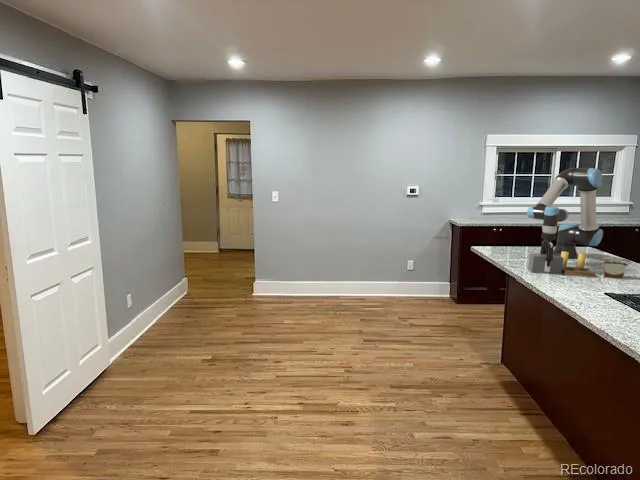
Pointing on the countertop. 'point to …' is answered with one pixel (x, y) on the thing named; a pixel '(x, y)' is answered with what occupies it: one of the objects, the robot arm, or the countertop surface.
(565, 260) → the peg
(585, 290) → the countertop surface
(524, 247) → the countertop surface
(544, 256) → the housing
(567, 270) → the socket board
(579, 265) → the peg
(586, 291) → the countertop surface
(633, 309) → the countertop surface
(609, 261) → the food container
